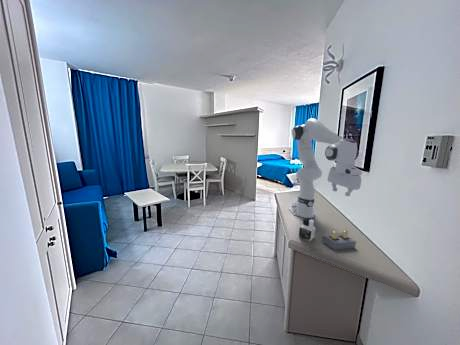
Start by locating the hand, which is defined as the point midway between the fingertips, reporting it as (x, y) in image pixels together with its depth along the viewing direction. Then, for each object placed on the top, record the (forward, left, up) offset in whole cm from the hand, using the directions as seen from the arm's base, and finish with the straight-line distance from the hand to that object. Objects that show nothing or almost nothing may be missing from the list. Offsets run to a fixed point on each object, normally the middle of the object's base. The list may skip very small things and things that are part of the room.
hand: (340, 193), depth 113 cm
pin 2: (0, +7, -31) cm, 32 cm away
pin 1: (0, 0, -31) cm, 31 cm away
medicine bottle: (-10, -11, -31) cm, 35 cm away
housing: (0, +3, -31) cm, 31 cm away
